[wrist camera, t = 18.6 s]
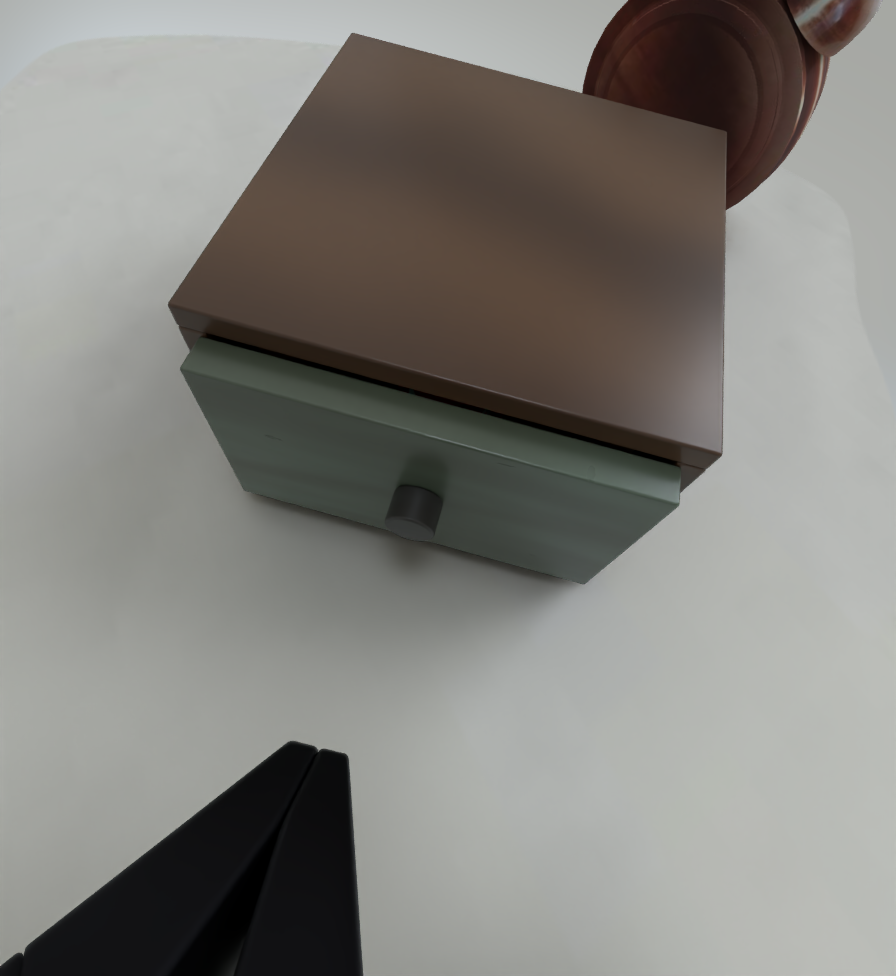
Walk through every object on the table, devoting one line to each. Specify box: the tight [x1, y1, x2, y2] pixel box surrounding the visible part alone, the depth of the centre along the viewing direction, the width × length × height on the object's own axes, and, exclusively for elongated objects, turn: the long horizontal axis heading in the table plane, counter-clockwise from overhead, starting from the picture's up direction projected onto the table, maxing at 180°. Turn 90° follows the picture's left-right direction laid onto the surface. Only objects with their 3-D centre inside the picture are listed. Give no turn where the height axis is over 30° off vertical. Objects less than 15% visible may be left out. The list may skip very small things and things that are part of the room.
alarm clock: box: [583, 0, 882, 210], centre depth 25 cm, size 11×5×15 cm, turn 53°
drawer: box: [180, 337, 681, 584], centre depth 20 cm, size 15×13×7 cm
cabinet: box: [168, 33, 727, 493], centre depth 21 cm, size 15×15×9 cm
